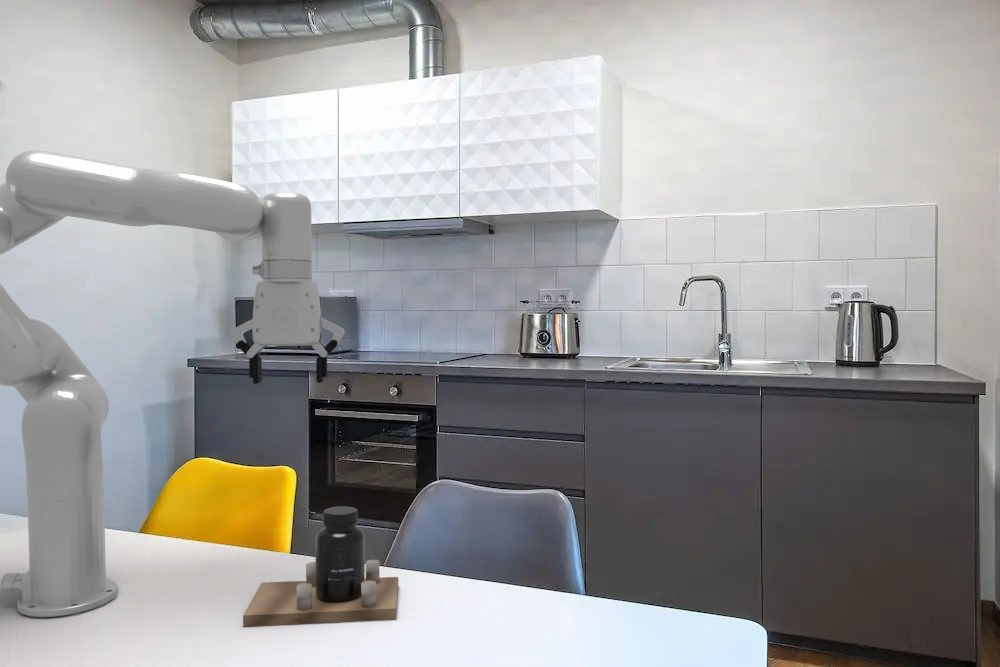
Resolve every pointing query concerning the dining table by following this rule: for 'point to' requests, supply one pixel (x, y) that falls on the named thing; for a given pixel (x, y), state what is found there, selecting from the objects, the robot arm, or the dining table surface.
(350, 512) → the supplement bottle
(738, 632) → the dining table surface
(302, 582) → the peg board
